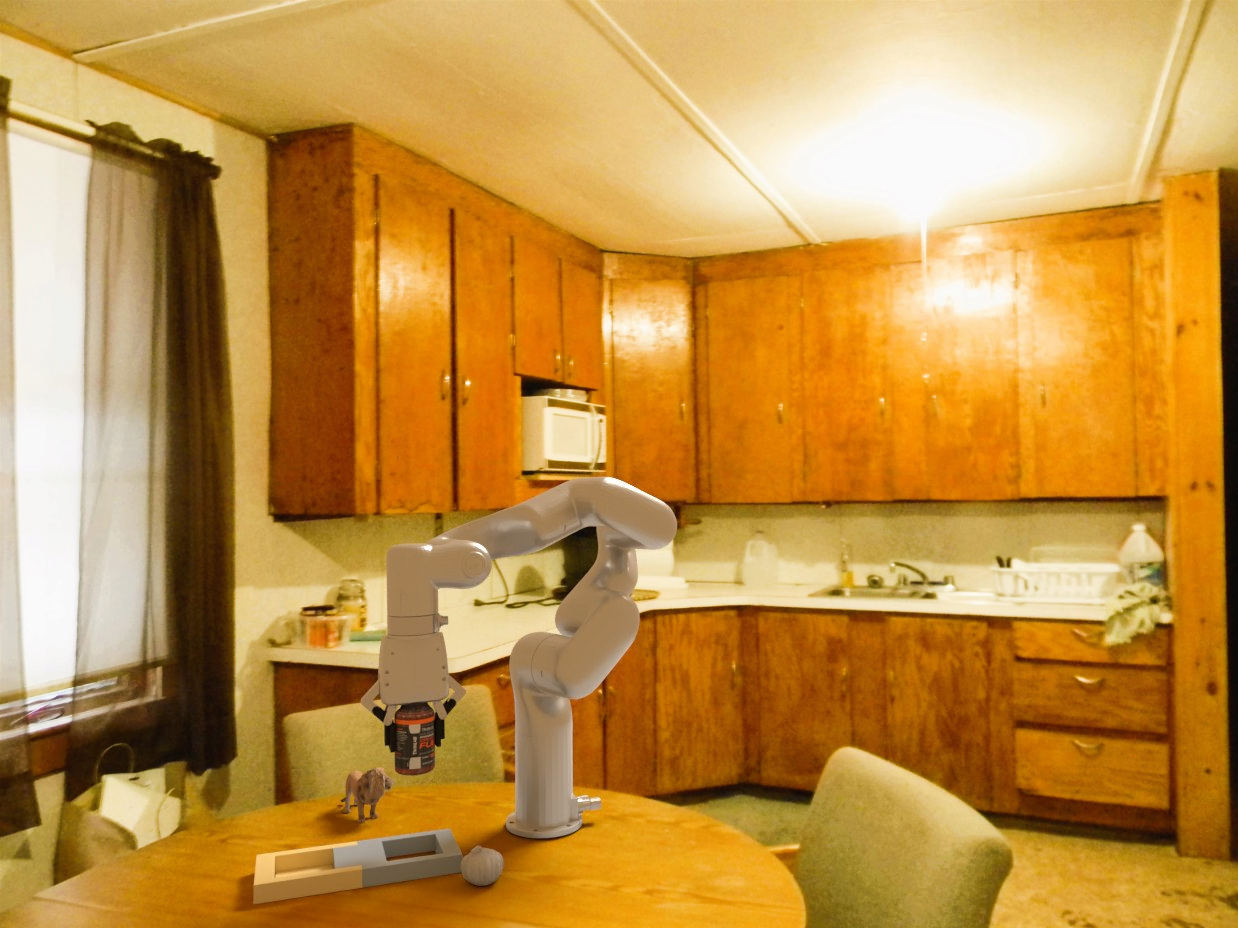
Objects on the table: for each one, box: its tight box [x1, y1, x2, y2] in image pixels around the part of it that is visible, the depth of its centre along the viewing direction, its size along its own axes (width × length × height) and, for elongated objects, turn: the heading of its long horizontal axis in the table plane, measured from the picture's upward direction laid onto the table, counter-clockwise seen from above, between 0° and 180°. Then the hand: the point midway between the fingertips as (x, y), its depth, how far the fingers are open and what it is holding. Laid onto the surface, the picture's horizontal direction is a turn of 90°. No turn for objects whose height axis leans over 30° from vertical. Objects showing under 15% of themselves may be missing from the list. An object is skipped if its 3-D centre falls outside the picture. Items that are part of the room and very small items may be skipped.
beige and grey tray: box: [252, 828, 464, 905], centre depth 127 cm, size 28×11×2 cm, turn 110°
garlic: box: [460, 845, 504, 887], centre depth 124 cm, size 6×5×5 cm
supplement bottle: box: [393, 702, 436, 776], centre depth 131 cm, size 6×6×11 cm
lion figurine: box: [340, 767, 395, 824], centre depth 152 cm, size 15×5×9 cm, turn 46°
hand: (414, 746), depth 131 cm, fingers closed on supplement bottle, 6 cm apart
